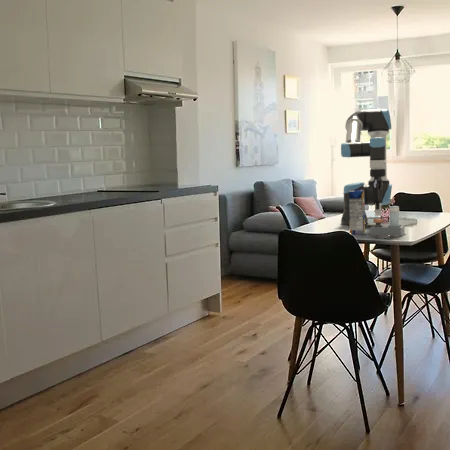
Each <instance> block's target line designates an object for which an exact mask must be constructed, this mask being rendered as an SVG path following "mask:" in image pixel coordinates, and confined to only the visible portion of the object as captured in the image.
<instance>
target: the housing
mask: <svg viewBox="0 0 450 450" xmlns="http://www.w3.org/2000/svg"><path fill="white" fill-rule="evenodd" d="M404 234H405V225H400V224H399V228H397V227H390V224H381V227H376V224H373V225H372V226H370V227H369V235H370V236H376V235H390V236H393V237H402V236H403V235H404Z"/></svg>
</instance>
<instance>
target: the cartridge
mask: <svg viewBox="0 0 450 450" xmlns="http://www.w3.org/2000/svg"><path fill="white" fill-rule="evenodd" d="M389 225H390V227H397V228H399V225H400V206H398V205H392V206H389Z"/></svg>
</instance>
